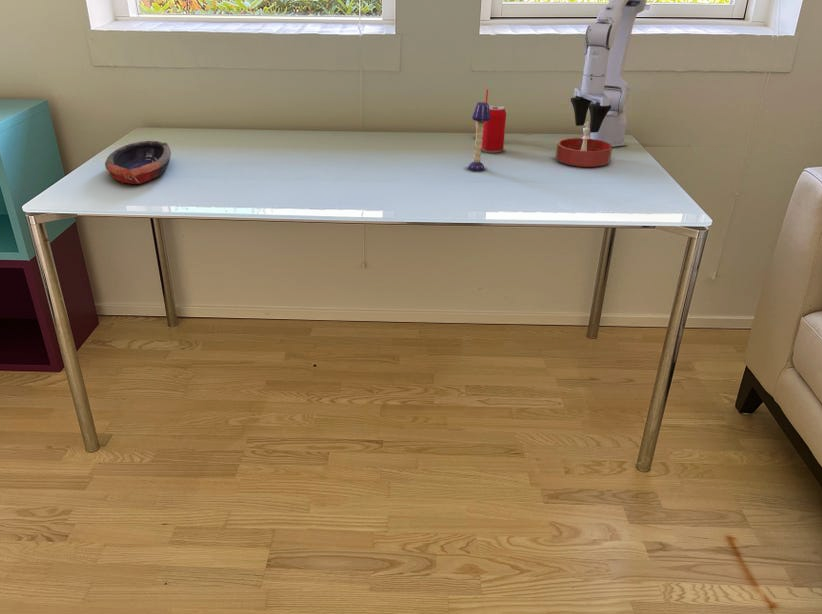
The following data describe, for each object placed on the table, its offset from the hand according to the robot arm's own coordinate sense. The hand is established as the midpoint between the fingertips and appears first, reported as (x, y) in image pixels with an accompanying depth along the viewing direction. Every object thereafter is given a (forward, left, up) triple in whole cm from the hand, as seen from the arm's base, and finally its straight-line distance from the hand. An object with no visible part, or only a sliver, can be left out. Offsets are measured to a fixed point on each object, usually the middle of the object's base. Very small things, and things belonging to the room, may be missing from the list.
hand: (586, 128), depth 193 cm
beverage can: (+17, -19, -9) cm, 27 cm away
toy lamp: (+30, -5, -9) cm, 32 cm away
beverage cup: (+12, -32, -9) cm, 35 cm away
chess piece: (0, 0, -8) cm, 8 cm away
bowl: (0, 0, -9) cm, 9 cm away
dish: (+111, -37, -9) cm, 118 cm away
